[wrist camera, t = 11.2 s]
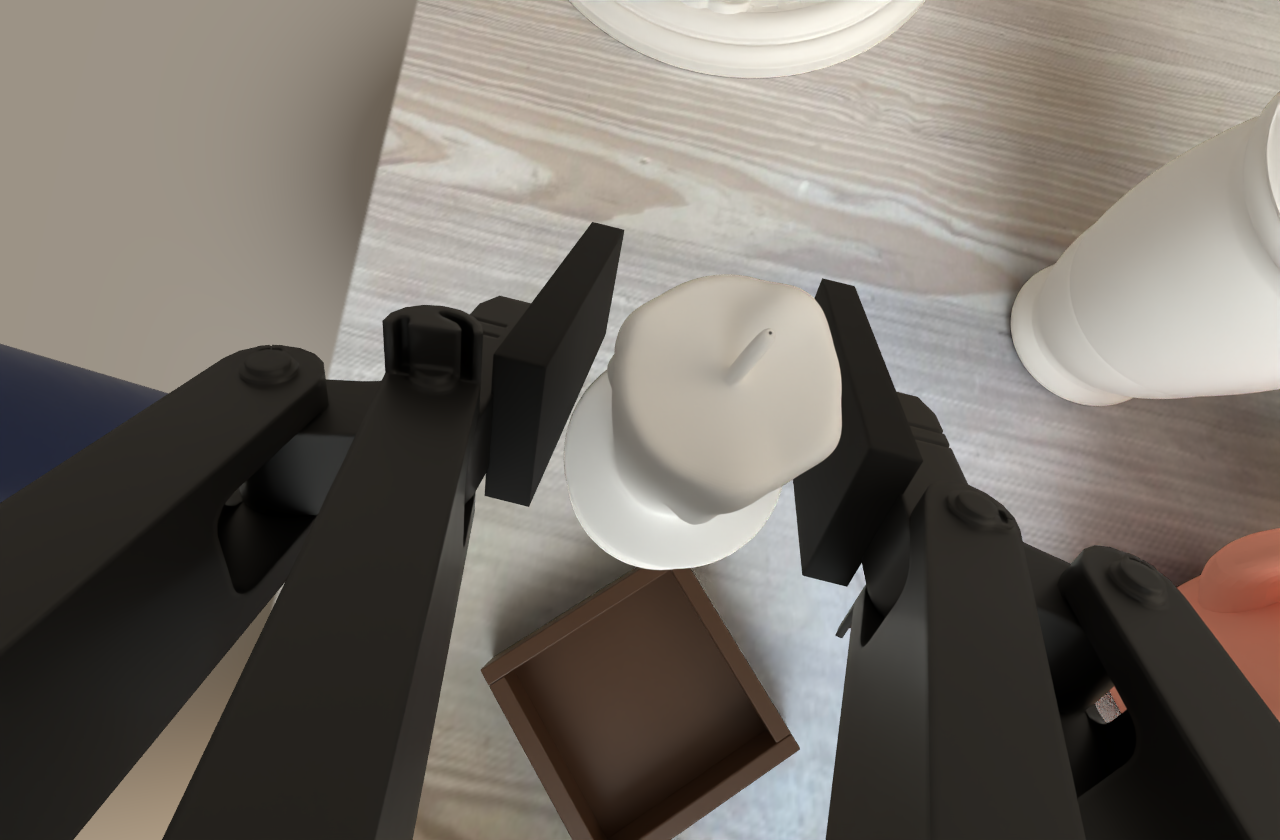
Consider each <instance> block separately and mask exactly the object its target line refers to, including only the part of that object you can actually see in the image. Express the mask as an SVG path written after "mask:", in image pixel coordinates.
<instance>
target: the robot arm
mask: <svg viewBox="0 0 1280 840" xmlns="http://www.w3.org/2000/svg"><path fill="white" fill-rule="evenodd" d="M623 235H624V230H623V229H619V228H615V227H611V226H606V225H602V224H598V223H594V222H592V223H591V225H590V226H589V227H588V229H587V230H586V231H585V233H584V234H583V235H582V237H581V238H580V239H579V241H578V242H577V243H576V245H575V246H574V247H573V249H572V250H571V251H570V253H569V254H568V255H567V257H566V258H565V259H564V261H563V262H562V263H561V265H560V266H559V267H558V269H557V270H556V271H555V273H554V274H553V275H552V277H551V278H550V279H549V281H548V282H547V283H546V285H545V286H544V287H543V289H542V290H541V291H540V293H539V294H538V295H537V297H536V298H535V299H534V301H533V302H532V303H527V302H523V301H519V300H515V299H511V298H507V297H503V296H498V297H495V298H493V299H490V300H488V301H485V302H483V303H480V304H479V305H478V306H477V307H476V308H475V309H474V311H473V312H472V313H471V314H470V315H469V314H467V313H465V312H463V311H461V310H458V309H453V308H449V307H445V306H432V305H420V306H412V307H405V308H403V309H400V310H397V311H395V312H392V313H390V314H389V315H388V316H387V317H386V318H385V319H384V320H383V337H384V354H385V371H386V373H385V375H384V377H383V379H382V381H344V380H326V378H325V371H324V363H323V362H322V360H321V359H320V358H319V357H317V356H316V355H315V354H314V353H311V352H309V351H306V350H303V349H301V348H295V347H289V346H283V345H272V346H270V345H265V346H258V347H255V348H250V349H246V350H241V351H238V352H236V353H234V354H232V355H229V356H227V357H225V358H223V359H221V360H220V361H218V362H217V363H215V364H214V365H212V366H211V367H209V368H208V369H206V370H205V371H203V372H201V373H200V374H198V375H197V376H195V377H194V378H192V379H191V380H189V381H188V382H186V383H184V384H183V385H181V386H180V387H178V388H177V389H175V390H174V391H172V392H171V393H169V394H168V395H166V396H164V397H163V398H161V399H160V400H158V401H157V402H155V403H154V404H152V405H151V406H149V407H148V408H146V409H144V410H143V411H141V412H140V413H138V414H137V415H135V416H134V417H132V418H131V419H129V420H128V421H126V422H124V423H123V424H121V425H120V426H118V427H117V428H115V429H114V430H112V431H111V432H109V433H108V434H106V435H104V436H103V437H101V438H100V439H98V440H97V441H95V442H94V443H92V444H91V445H89V446H88V447H86V448H84V449H83V450H81V451H80V452H78V453H77V454H75V455H74V456H72V457H71V458H69V459H68V460H66V461H64V462H63V463H61V464H60V465H58V466H57V467H55V468H54V469H52V470H51V471H49V472H48V473H46V474H45V475H43V476H41V477H40V478H38V479H37V480H35V481H34V482H32V483H31V484H29V485H28V486H26V487H25V488H23V489H21V490H20V491H18V492H17V493H15V494H14V495H12V496H11V497H9V498H8V499H6V500H5V501H3V502H1V503H0V840H73V839H74V838H75V837H76V836H77V835H78V833H79V832H80V831H81V829H83V827H84V826H85V825H86V824H87V822H88V821H89V820H90V819H91V818H92V816H93V815H94V814H95V813H96V811H97V810H98V809H99V808H100V807H101V805H102V804H103V803H104V802H105V800H106V799H107V798H108V797H109V795H110V794H111V793H112V792H113V791H114V790H115V788H116V787H117V786H118V785H119V783H120V782H121V781H122V780H123V779H124V777H125V776H126V775H127V774H128V773H129V771H130V770H131V769H132V768H133V766H134V765H135V764H136V762H138V760H139V759H140V758H141V757H142V755H143V754H144V753H145V752H146V751H147V749H148V748H149V747H150V746H151V745H152V743H153V742H154V741H155V739H156V738H157V737H158V736H159V735H160V733H161V732H162V731H163V730H164V729H165V727H166V726H167V725H168V724H169V723H170V721H171V720H172V719H173V718H174V716H175V715H176V714H177V713H178V712H179V710H180V709H181V708H182V707H183V705H184V704H185V703H186V702H187V701H188V699H189V698H190V697H191V696H192V695H193V693H194V692H195V691H196V690H197V688H198V687H199V686H200V685H201V684H202V682H203V681H204V680H205V679H206V678H207V676H208V675H209V674H210V673H211V671H212V670H213V669H214V668H215V666H216V665H217V664H218V663H219V662H220V660H221V659H222V658H223V657H224V656H225V654H226V653H227V652H228V651H229V650H230V648H231V647H232V646H233V645H234V643H235V642H236V641H237V640H238V639H239V637H240V636H241V635H242V634H243V633H244V631H245V630H246V629H247V628H248V626H249V625H250V624H251V623H252V621H253V620H254V619H255V618H256V617H257V615H258V614H259V613H260V612H261V611H262V609H263V608H264V607H265V606H266V605H267V603H268V602H269V601H270V600H271V598H272V597H273V596H274V595H275V594H276V592H277V591H278V590H279V589H280V587H281V586H282V585H283V584H284V583H285V584H284V586H283V588H282V590H281V592H280V594H279V596H278V598H277V601H276V603H275V605H274V607H273V609H272V611H271V613H270V615H269V617H268V619H267V621H266V623H265V626H264V628H263V630H262V632H261V634H260V636H259V638H258V641H257V643H256V644H255V647H254V649H253V651H252V653H251V655H250V657H249V659H248V661H247V663H246V665H245V667H244V669H243V672H242V674H241V676H240V678H239V680H238V682H237V684H236V687H235V689H234V690H233V692H232V695H231V697H230V699H229V701H228V703H227V705H226V707H225V709H224V712H223V713H222V716H221V718H220V720H219V722H218V724H217V726H216V728H215V730H214V732H213V734H212V736H211V739H210V741H209V743H208V745H207V747H206V749H205V751H204V753H203V755H202V757H201V759H200V762H199V764H198V766H197V768H196V770H195V772H194V774H193V776H192V779H191V780H190V782H189V784H188V786H187V789H186V791H185V793H184V795H183V797H182V799H181V801H180V803H179V805H178V807H177V810H176V812H175V814H174V816H173V818H172V820H171V822H170V824H169V826H168V828H167V830H166V833H165V835H164V837H163V839H162V840H412V839H413V834H414V829H415V823H416V818H417V813H418V807H419V802H420V797H421V792H422V786H423V781H424V776H425V771H426V765H427V760H428V755H429V749H430V744H431V739H432V734H433V728H434V723H435V718H436V712H437V707H438V702H439V697H440V691H441V686H442V681H443V675H444V670H445V665H446V660H447V654H448V649H449V644H450V638H451V633H452V628H453V623H454V617H455V612H456V607H457V602H458V596H459V591H460V586H461V580H462V575H463V570H464V565H465V559H466V554H467V549H468V543H469V538H470V533H471V528H472V522H473V517H474V511H475V491H476V490H477V488H478V486H479V484H480V483H481V481H482V479H483V477H484V476H485V474H486V483H485V496H488V497H492V498H496V499H500V500H504V501H508V502H512V503H516V504H520V505H524V506H528V507H529V505H530V503H531V501H532V499H533V496H534V494H535V492H536V490H537V487H538V485H539V483H540V481H541V478H542V476H543V474H544V472H545V469H546V467H547V465H548V463H549V460H550V458H551V456H552V454H553V451H554V449H555V447H556V445H557V442H558V440H559V438H560V436H561V433H562V431H563V429H564V427H565V424H566V422H567V420H568V418H569V415H570V413H571V411H572V409H573V406H574V404H575V402H576V400H577V397H578V395H579V393H580V391H581V388H582V386H583V384H584V382H585V379H586V377H587V375H588V373H589V370H590V368H591V366H592V364H593V361H594V359H595V357H596V355H597V352H598V350H599V348H600V346H601V343H602V341H603V339H604V337H605V334H606V329H607V323H608V318H609V312H610V307H611V301H612V295H613V290H614V284H615V279H616V273H617V268H618V262H619V257H620V251H621V246H622V240H623ZM815 300H816V301H817V303H818V304H819V305H820V307H821V309H822V310H823V312H824V315H825V317H826V320H827V322H828V326H829V329H830V332H831V336H832V340H833V344H834V348H835V351H836V354H837V358H838V362H839V366H840V372H841V383H842V393H841V412H842V429H841V436H840V440H839V442H838V444H837V446H836V448H835V449H834V451H833V452H832V453H831V454H830V455H829V456H828V457H827V458H826V459H824V460H823V461H822V462H820V463H819V464H817V465H816V466H814V467H812V468H810V469H809V470H807V471H805V472H804V473H802V474H800V475H799V476H797V477H796V478H794V479H793V484H794V494H795V504H796V515H797V525H798V535H799V546H800V556H801V566H802V575H803V576H807V577H811V578H815V579H819V580H823V581H827V582H831V583H835V584H839V585H843V586H848V584H849V583H850V581H851V579H852V578H853V576H854V574H855V573H856V571H857V570H858V568H859V566H860V565H861V563H862V565H863V570H864V575H865V580H866V585H865V587H864V588H863V590H862V591H861V593H860V595H859V596H858V598H857V599H856V601H855V602H854V604H853V606H852V607H851V609H850V610H849V612H848V614H847V615H846V617H845V618H844V620H843V621H842V623H841V625H840V626H839V628H838V631H837V633H836V635H835V636H838V637H840V638H843V636H844V635H845V633H846V632H847V630H848V629H849V628H851V633H850V641H849V650H848V658H847V667H846V675H845V683H844V692H843V700H842V708H841V717H840V725H839V733H838V742H837V750H836V758H835V767H834V775H833V783H832V792H831V800H830V808H829V817H828V825H827V833H826V840H1280V722H1279V721H1278V719H1277V718H1276V717H1275V715H1274V714H1273V713H1272V711H1271V710H1270V709H1269V707H1268V706H1267V705H1266V703H1265V702H1264V701H1263V699H1262V698H1261V697H1260V696H1259V694H1258V693H1257V692H1256V690H1255V689H1254V688H1253V686H1252V685H1251V684H1250V682H1249V681H1248V680H1247V678H1246V677H1245V676H1244V674H1243V673H1242V672H1241V670H1240V669H1239V668H1238V666H1237V665H1236V664H1235V662H1234V661H1233V660H1232V658H1231V657H1230V656H1229V654H1228V653H1227V652H1226V651H1225V649H1224V648H1223V647H1222V645H1221V644H1220V643H1219V641H1218V640H1217V639H1216V637H1215V636H1214V635H1213V633H1212V632H1211V631H1210V629H1209V628H1208V627H1207V625H1206V624H1205V623H1204V621H1203V620H1202V619H1201V617H1200V616H1199V615H1198V613H1197V612H1196V611H1195V609H1194V608H1193V607H1192V606H1191V604H1190V603H1189V602H1188V600H1187V599H1186V598H1185V596H1184V595H1183V594H1182V593H1181V592H1180V591H1179V590H1178V589H1177V588H1176V587H1175V585H1174V584H1173V583H1172V582H1171V581H1170V580H1169V579H1167V578H1166V577H1165V576H1163V575H1162V574H1161V573H1159V572H1158V571H1157V570H1156V568H1155V567H1153V566H1152V565H1151V564H1149V563H1147V562H1146V561H1144V560H1142V561H1141V560H1140V558H1138V557H1136V556H1134V555H1132V554H1129V553H1125V552H1122V551H1119V550H1117V549H1114V548H1111V547H1104V546H1095V545H1094V546H1092V547H1089V548H1086V549H1084V550H1083V551H1082V552H1081V553H1080V555H1079V556H1078V557H1077V558H1076V559H1075V560H1074V561H1073V562H1072V563H1071V564H1070V563H1068V562H1065V561H1063V560H1061V559H1059V558H1057V557H1054V556H1052V555H1050V554H1048V553H1046V552H1043V551H1041V550H1039V549H1037V548H1035V547H1032V546H1030V545H1028V544H1026V543H1024V542H1023V541H1022V536H1021V532H1020V529H1019V526H1018V524H1017V522H1016V520H1015V518H1014V517H1013V516H1012V515H1011V514H1010V512H1009V511H1008V510H1007V509H1006V508H1005V507H1004V506H1003V505H1002V504H1000V503H999V502H998V501H996V500H995V499H993V498H992V497H991V496H989V495H988V494H986V493H984V492H982V491H980V490H978V489H976V488H974V487H972V486H970V485H968V483H967V481H966V479H965V477H964V475H963V473H962V470H961V468H960V466H959V464H958V462H957V460H956V458H955V456H954V453H953V451H952V449H951V448H949V443H948V441H947V438H946V436H945V434H942V432H943V430H942V428H941V426H940V424H939V421H938V419H937V417H936V415H935V414H934V413H933V412H932V411H931V410H930V409H929V408H928V407H927V406H926V405H925V404H924V403H923V402H922V401H921V400H920V399H919V398H918V397H916V396H912V395H908V394H904V393H899V392H896V390H895V388H894V385H893V382H892V380H891V377H890V375H889V372H888V370H887V367H886V365H885V362H884V360H883V357H882V355H881V352H880V349H879V347H878V344H877V342H876V339H875V337H874V334H873V332H872V329H871V327H870V324H869V322H868V319H867V316H866V314H865V311H864V309H863V306H862V304H861V301H860V299H859V296H858V294H857V291H856V288H855V286H851V285H847V284H843V283H839V282H835V281H831V280H827V279H823V278H822V281H821V283H820V286H819V288H818V291H817V293H816V296H815ZM285 581H286V582H285ZM1113 687H1115V688H1116V690H1117V692H1118V694H1119V696H1120V697H1121V699H1122V701H1123V703H1124V705H1125V707H1126V708H1127V710H1125V711H1124V712H1123V713H1122V714H1120V715H1119V716H1118V717H1117V718H1115V719H1114V720H1113V721H1111V722H1109V723H1106V722H1105V721H1104V720H1103V718H1102V717H1101V715H1100V714H1099V712H1098V710H1097V708H1096V706H1095V704H1094V703H1095V702H1097V701H1098V700H1099V699H1100V698H1101V697H1102V696H1104V695H1105V694H1106V693H1107V692H1108V691H1109V690H1111V689H1112V688H1113Z"/></svg>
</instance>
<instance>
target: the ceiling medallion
mask: <svg viewBox="0 0 1280 840" xmlns="http://www.w3.org/2000/svg"><path fill="white" fill-rule="evenodd" d="M569 1H570V2H571V3H572V4H573V5H574V7H575V8H576V9H577V10H579V11H580V12H581V13H582V14H583V15H584V16H585V17H586V18H587V19H589V20H590V21H591V22H592V23H593V24H595V25H596V26H597V27H599V28H600V29H601V30H603V31H604V32H605V33H607V34H608V35H610V36H611V37H613V38H614V39H616V40H618V41H619V42H621V43H623V44H624V45H626V46H628V47H630V48H632V49H634V50H636V51H638V52H640V53H642V54H644V55H646V56H648V57H651V58H653V59H656V60H658V61H661V62H664V63H666V64H669V65H672V66H676V67H679V68H682V69H686V70H690V71H694V72H699V73H704V74H709V75H716V76H723V77H734V78H772V77H783V76H790V75H797V74H802V73H807V72H811V71H815V70H819V69H823V68H826V67H829V66H832V65H835V64H838V63H841V62H843V61H846V60H848V59H850V58H853V57H855V56H857V55H859V54H861V53H863V52H865V51H867V50H869V49H870V48H872V47H874V46H875V45H877V44H879V43H880V42H882V41H883V40H885V39H886V38H887V37H889V36H890V35H892V34H893V33H894V32H895V31H897V30H898V29H899V28H900V27H901V26H903V25H904V24H905V23H906V22H907V21H908V20H909V19H910V18H911V17H912V16H913V15H914V14H915V13H916V12H917V11H918V10H919V8H920V7H921V6H922V5H923V4H924V2H925V1H926V0H569Z"/></svg>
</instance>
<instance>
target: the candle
mask: <svg viewBox="0 0 1280 840" xmlns="http://www.w3.org/2000/svg"><path fill="white" fill-rule="evenodd" d="M841 393H842V383H841V372H840V366H839V362H838V358H837V354H836V351H835V348H834V344H833V340H832V336H831V332H830V329H829V326H828V322H827V320H826V317H825V315H824V312H823V310H822V309H821V307H820V305H819V304H818V303H817V301H816V300H815V299H814V298H813V297H812V296H811V295H810V294H808V293H807V292H805V291H804V290H802V289H800V288H797V287H794V286H791V285H787V284H782V283H775V282H769V281H764V280H760V279H756V278H752V277H747V276H740V275H713V276H706V277H701V278H697V279H694V280H690V281H688V282H685V283H682V284H680V285H678V286H676V287H674V288H672V289H670V290H669V291H667V292H665V293H663V294H662V295H660V296H658V297H656V298H654V299H652V300H650V301H649V302H647V303H645V304H643V305H642V306H640V307H639V308H637V309H636V310H635V311H633V312H632V313H631V314H630V315H629V316H628V317H627V319H626V320H625V321H624V323H623V324H622V326H621V328H620V330H619V333H618V336H617V339H616V344H615V354H614V355H613V357H612V358H611V360H610V362H609V364H608V368H607V370H606V371H605V372H603V373H602V374H601V375H600V376H599V377H598V378H597V379H596V380H595V381H594V382H593V383H592V384H591V385H590V386H589V388H588V389H587V390H586V391H585V393H584V394H583V396H582V397H581V399H580V400H579V402H578V404H577V406H576V408H575V410H574V412H573V414H572V417H571V419H570V422H569V425H568V429H567V433H566V438H565V445H564V468H565V476H566V481H567V485H568V492H569V497H570V501H571V504H572V507H573V510H574V512H575V514H576V517H577V519H578V521H579V522H580V524H581V526H582V527H583V529H584V530H585V532H586V533H587V534H588V535H589V537H590V538H591V539H592V540H593V541H594V542H595V543H596V544H597V545H598V546H599V547H600V548H602V549H603V550H604V551H605V552H607V553H608V554H610V555H611V556H613V557H615V558H616V559H618V560H620V561H622V562H625V563H627V564H630V565H633V566H636V567H640V568H645V569H653V570H670V569H684V568H693V567H698V566H703V565H707V564H710V563H713V562H716V561H718V560H720V559H723V558H725V557H727V556H729V555H730V554H732V553H734V552H735V551H737V550H738V549H740V548H741V547H743V546H744V545H745V544H746V543H748V542H749V541H750V540H751V539H752V538H753V537H754V536H755V535H756V534H757V533H758V532H759V531H760V529H761V528H762V527H763V526H764V524H765V523H766V521H767V520H768V518H769V517H770V515H771V513H772V512H773V510H774V508H775V506H776V503H777V501H778V499H779V496H780V493H781V489H782V486H783V485H785V484H787V483H788V482H790V481H791V480H793V479H794V478H796V477H797V476H799V475H800V474H802V473H804V472H805V471H807V470H809V469H810V468H812V467H814V466H816V465H817V464H819V463H820V462H822V461H823V460H824V459H826V458H827V457H828V456H829V455H830V454H831V453H832V452H833V451H834V449H835V448H836V446H837V444H838V442H839V440H840V436H841V429H842V412H841Z"/></svg>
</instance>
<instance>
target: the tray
mask: <svg viewBox="0 0 1280 840" xmlns="http://www.w3.org/2000/svg"><path fill="white" fill-rule="evenodd" d="M481 672H482V674H483V676H484V678H485V680H486V681H487V683H488V685H490V689H491V690H492V692H493V694H494V696H495V698H496V700H497V702H498V703H499V705H500V707H501V709H502V711H503V713H504V714H505V716H506V718H507V720H508V722H509V724H510V725H511V727H512V729H513V731H514V733H515V735H516V737H517V738H518V740H519V742H520V744H521V746H522V748H523V749H524V751H525V753H526V755H527V757H528V759H529V760H530V762H531V764H532V766H533V768H534V770H535V772H536V773H537V775H538V777H539V779H540V781H541V783H542V784H543V786H544V788H545V790H546V792H547V794H548V795H549V797H550V799H551V801H552V803H553V805H554V807H555V808H556V810H557V812H558V814H559V816H560V818H561V819H562V821H563V823H564V825H565V827H566V829H567V830H568V832H569V834H570V836H571V838H572V840H671V839H672V838H674V837H675V836H677V835H678V834H679V833H681V832H682V831H684V830H685V829H687V828H688V827H689V826H691V825H692V824H694V823H695V822H697V821H698V820H699V819H701V818H702V817H704V816H705V815H707V814H708V813H709V812H711V811H712V810H714V809H715V808H717V807H718V806H720V805H721V804H722V803H724V802H725V801H727V800H728V799H730V798H731V797H732V796H734V795H735V794H737V793H738V792H740V791H741V790H742V789H744V788H745V787H747V786H748V785H750V784H751V783H752V782H754V781H755V780H757V779H758V778H760V777H761V776H762V775H764V774H765V773H767V772H768V771H770V770H771V769H772V768H774V767H775V766H777V765H778V764H780V763H781V762H782V761H784V760H785V759H787V758H788V757H790V756H791V755H792V754H794V753H795V752H797V751H798V750H799V749H800V747H799V746H798V744H797V742H796V741H795V739H794V737H793V736H792V734H791V733H790V731H789V729H788V727H787V726H786V724H785V723H784V721H783V719H782V718H781V716H780V714H779V713H778V711H777V709H776V708H775V706H774V705H773V703H772V701H771V700H770V698H769V696H768V695H767V693H766V691H765V690H764V688H763V687H762V685H761V683H760V682H759V680H758V678H757V677H756V675H755V673H754V672H753V670H752V669H751V667H750V665H749V664H748V662H747V660H746V659H745V657H744V655H743V654H742V652H741V651H740V649H739V647H738V646H737V644H736V642H735V641H734V639H733V637H732V636H731V634H730V633H729V631H728V629H727V628H726V626H725V624H724V623H723V621H722V619H721V618H720V616H719V615H718V613H717V611H716V610H715V608H714V606H713V605H712V603H711V601H710V600H709V598H708V597H707V595H706V593H705V592H704V590H703V588H702V587H701V585H700V583H699V582H698V580H697V578H696V577H695V575H694V574H693V572H692V570H691V569H690V568H684V569H670V570H653V569H645V568H640V567H636V568H634V569H632V570H631V571H629V572H628V573H626V574H624V575H623V576H621V577H620V578H618V579H617V580H615V581H613V582H612V583H610V584H609V585H607V586H605V587H604V588H602V589H601V590H599V591H598V592H596V593H594V594H593V595H591V596H590V597H588V598H587V599H585V600H583V601H582V602H580V603H579V604H577V605H575V606H574V607H572V608H571V609H569V610H568V611H566V612H564V613H563V614H561V615H560V616H558V617H556V618H555V619H553V620H552V621H550V622H549V623H547V624H545V625H544V626H542V627H541V628H539V629H537V630H536V631H534V632H533V633H531V634H530V635H528V636H526V637H525V638H523V639H522V640H520V641H519V642H517V643H515V644H514V645H512V646H511V647H509V648H507V649H506V650H504V651H503V652H501V653H500V654H498V655H496V656H495V657H493V658H492V659H491V660H490V661H489V662H488V663H487V664H486V665H485V666H484V667H483V668H482V669H481Z"/></svg>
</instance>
